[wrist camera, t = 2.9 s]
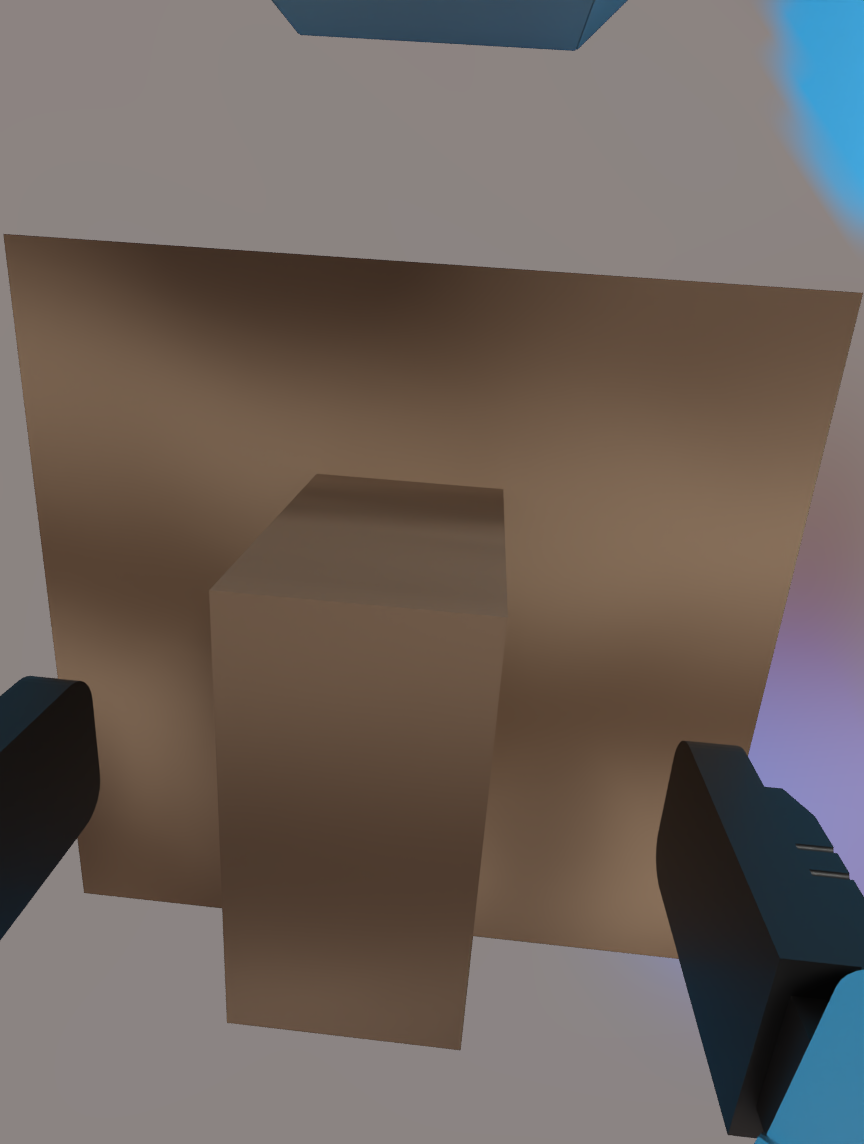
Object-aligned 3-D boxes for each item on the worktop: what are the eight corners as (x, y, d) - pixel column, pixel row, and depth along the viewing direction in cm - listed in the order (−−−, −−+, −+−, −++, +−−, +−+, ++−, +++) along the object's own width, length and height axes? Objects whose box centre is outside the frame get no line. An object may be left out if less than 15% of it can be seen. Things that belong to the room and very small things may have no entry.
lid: (33, 237, 12) (-332, 202, 7) (839, 292, 12) (1137, 303, 6) (102, 865, 17) (-86, 1146, 11) (687, 928, 16) (784, 1257, 11)
